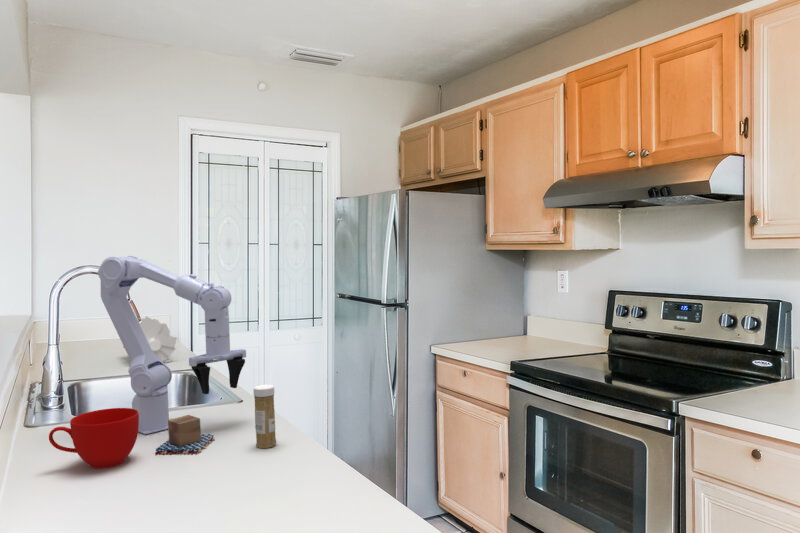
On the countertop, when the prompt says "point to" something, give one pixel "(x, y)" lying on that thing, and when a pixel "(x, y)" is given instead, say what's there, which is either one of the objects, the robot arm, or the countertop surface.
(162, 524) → the countertop surface
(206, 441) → the woven mat
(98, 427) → the ceramic cup
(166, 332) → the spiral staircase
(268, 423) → the sprinkles bottle
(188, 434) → the walnut block
